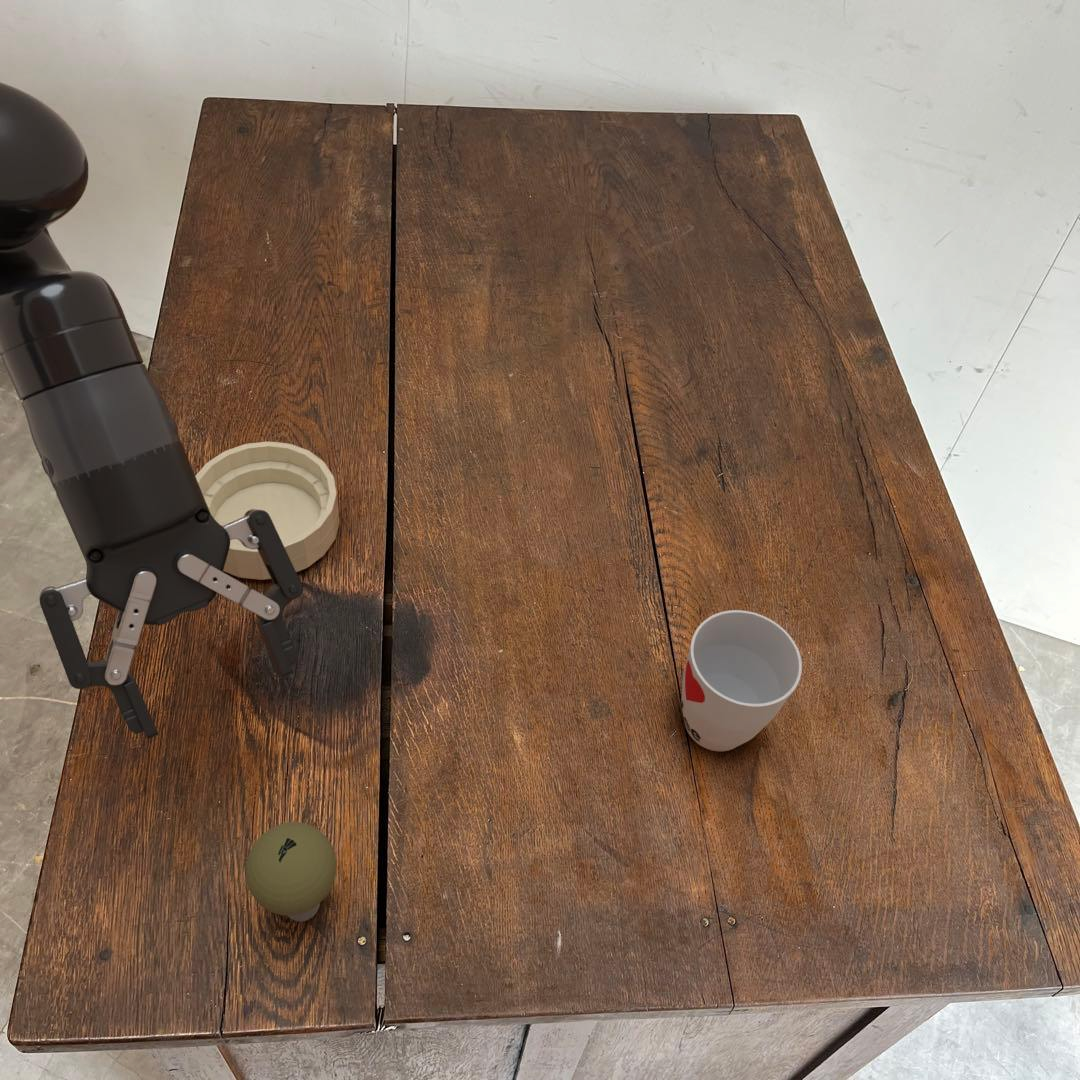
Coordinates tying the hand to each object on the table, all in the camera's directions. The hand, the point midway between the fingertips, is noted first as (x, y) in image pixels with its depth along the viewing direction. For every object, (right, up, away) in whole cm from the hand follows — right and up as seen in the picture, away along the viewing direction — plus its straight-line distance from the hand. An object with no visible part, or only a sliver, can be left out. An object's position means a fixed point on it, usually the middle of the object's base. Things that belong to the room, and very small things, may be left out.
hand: (220, 703), depth 64 cm
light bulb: (+4, -15, +7) cm, 17 cm away
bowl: (-4, +11, +27) cm, 29 cm away
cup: (+34, -5, +19) cm, 39 cm away
